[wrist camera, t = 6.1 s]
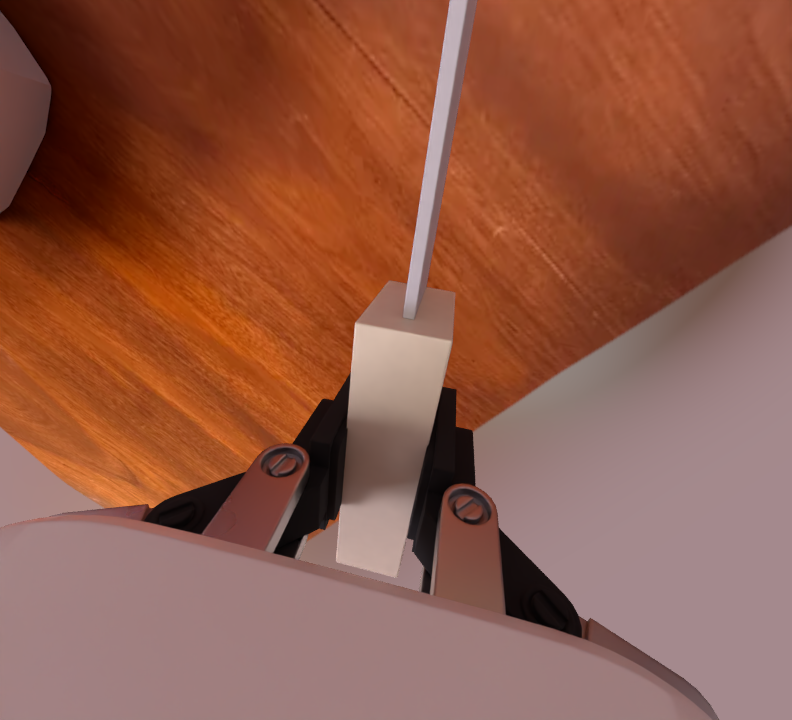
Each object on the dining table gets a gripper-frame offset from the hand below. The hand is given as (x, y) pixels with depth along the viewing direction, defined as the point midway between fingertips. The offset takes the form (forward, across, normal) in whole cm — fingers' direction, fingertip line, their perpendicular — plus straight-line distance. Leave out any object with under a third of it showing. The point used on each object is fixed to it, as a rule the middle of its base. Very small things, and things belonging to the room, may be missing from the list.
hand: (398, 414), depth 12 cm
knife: (+1, 0, -5) cm, 5 cm away
